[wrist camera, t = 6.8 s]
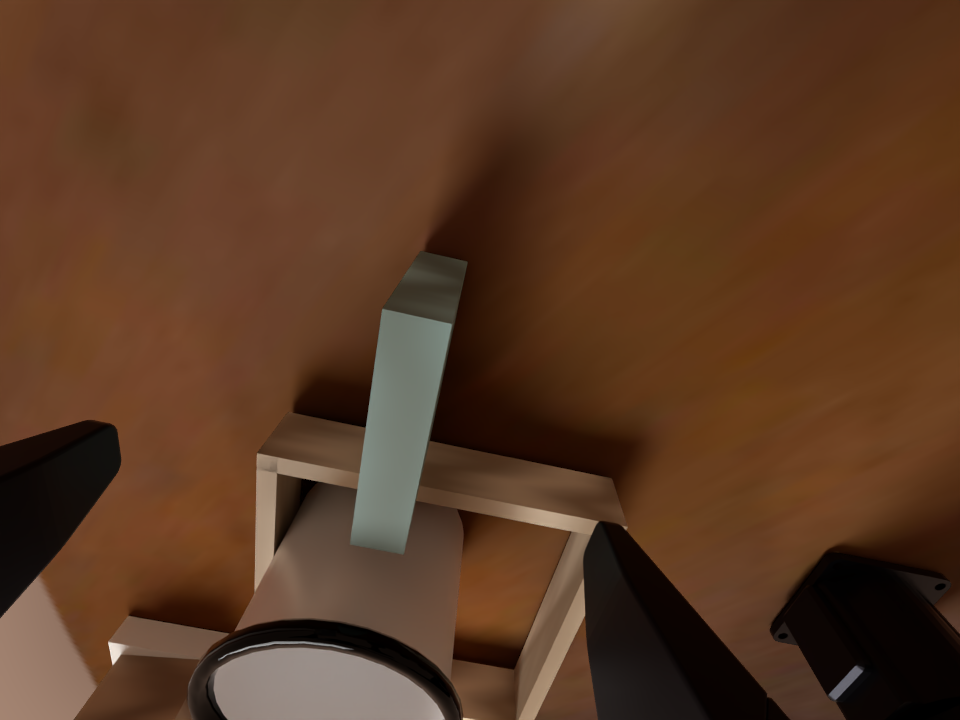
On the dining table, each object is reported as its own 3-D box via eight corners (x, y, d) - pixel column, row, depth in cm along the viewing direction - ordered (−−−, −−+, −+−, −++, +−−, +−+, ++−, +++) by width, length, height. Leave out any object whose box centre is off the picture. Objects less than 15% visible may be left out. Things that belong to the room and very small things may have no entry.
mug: (370, 416, 21) (291, 591, 13) (513, 531, 24) (520, 736, 16) (228, 547, 25) (99, 744, 17) (364, 633, 28) (309, 839, 20)
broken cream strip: (378, 659, 29) (371, 687, 28) (367, 714, 32) (360, 741, 30) (128, 615, 28) (108, 641, 27) (137, 675, 31) (119, 702, 29)
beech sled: (685, 311, 18) (769, 393, 13) (523, 680, 29) (529, 816, 23) (297, 222, 17) (197, 267, 12) (276, 636, 28) (218, 767, 22)
